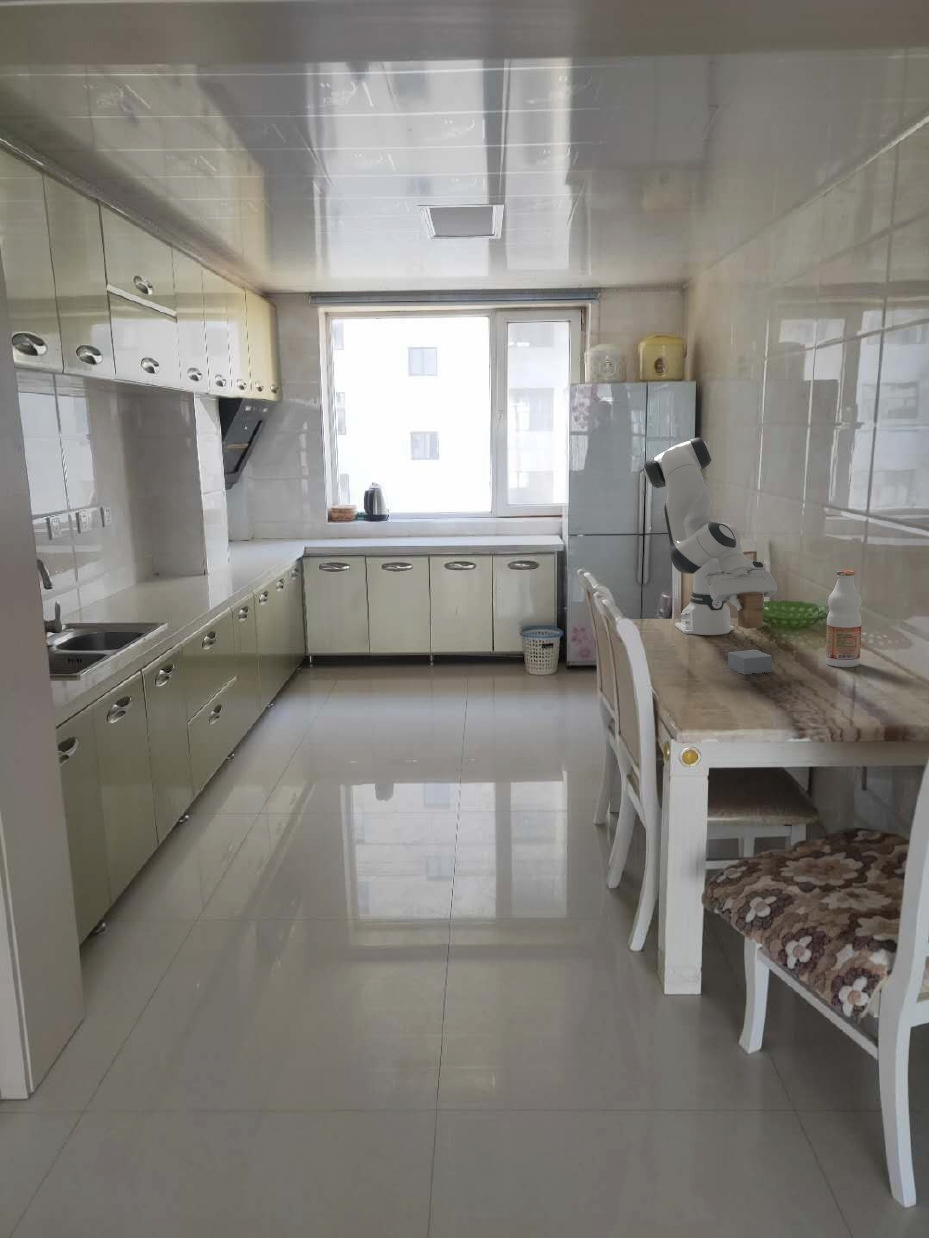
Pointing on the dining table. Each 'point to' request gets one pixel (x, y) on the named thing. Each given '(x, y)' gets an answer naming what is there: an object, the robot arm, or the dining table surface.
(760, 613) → the walnut block
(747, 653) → the slate grey base block
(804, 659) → the dining table surface
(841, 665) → the fruit juice
